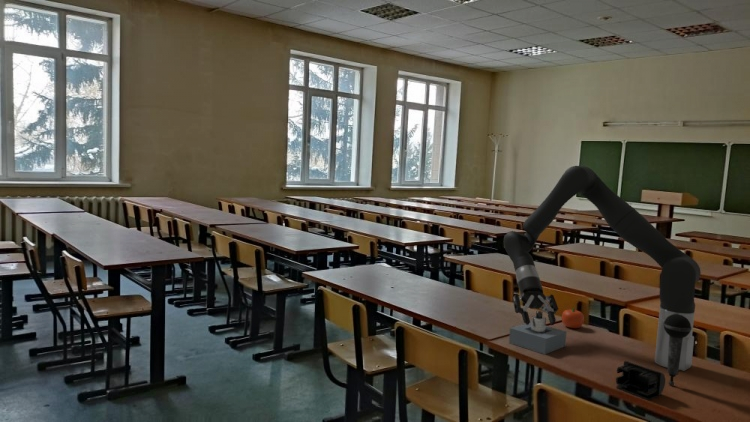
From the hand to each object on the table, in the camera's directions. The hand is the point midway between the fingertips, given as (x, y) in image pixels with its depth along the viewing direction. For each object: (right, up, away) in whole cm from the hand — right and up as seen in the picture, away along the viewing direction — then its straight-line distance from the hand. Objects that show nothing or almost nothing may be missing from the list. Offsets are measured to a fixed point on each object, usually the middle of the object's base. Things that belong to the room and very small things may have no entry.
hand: (540, 323), depth 178 cm
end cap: (+16, -12, -33) cm, 38 cm away
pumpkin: (+19, -7, +24) cm, 31 cm away
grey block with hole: (-1, -7, +2) cm, 8 cm away
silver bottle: (-1, -7, +2) cm, 8 cm away
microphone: (+28, -12, -27) cm, 41 cm away
